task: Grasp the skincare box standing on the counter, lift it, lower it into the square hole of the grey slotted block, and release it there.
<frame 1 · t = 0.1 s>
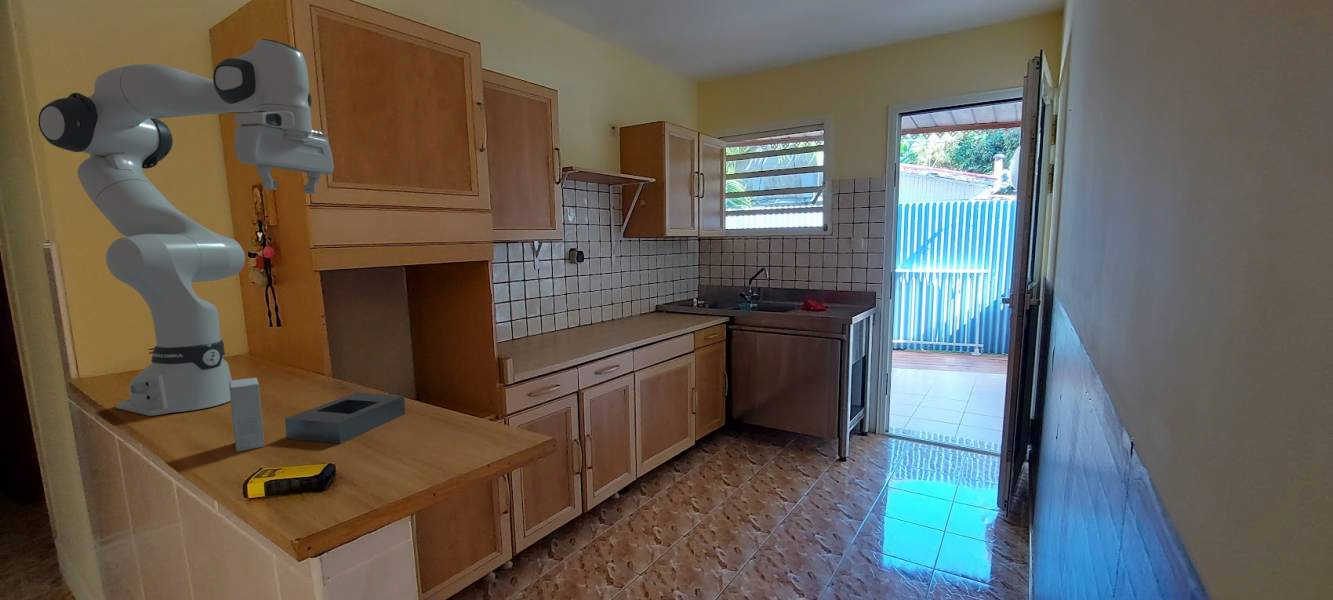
hand: (291, 191, 113), 48 cm above the table, fingers open, 8 cm apart
grey slotted block: (349, 425, 111), on the table
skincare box: (249, 445, 100), on the table
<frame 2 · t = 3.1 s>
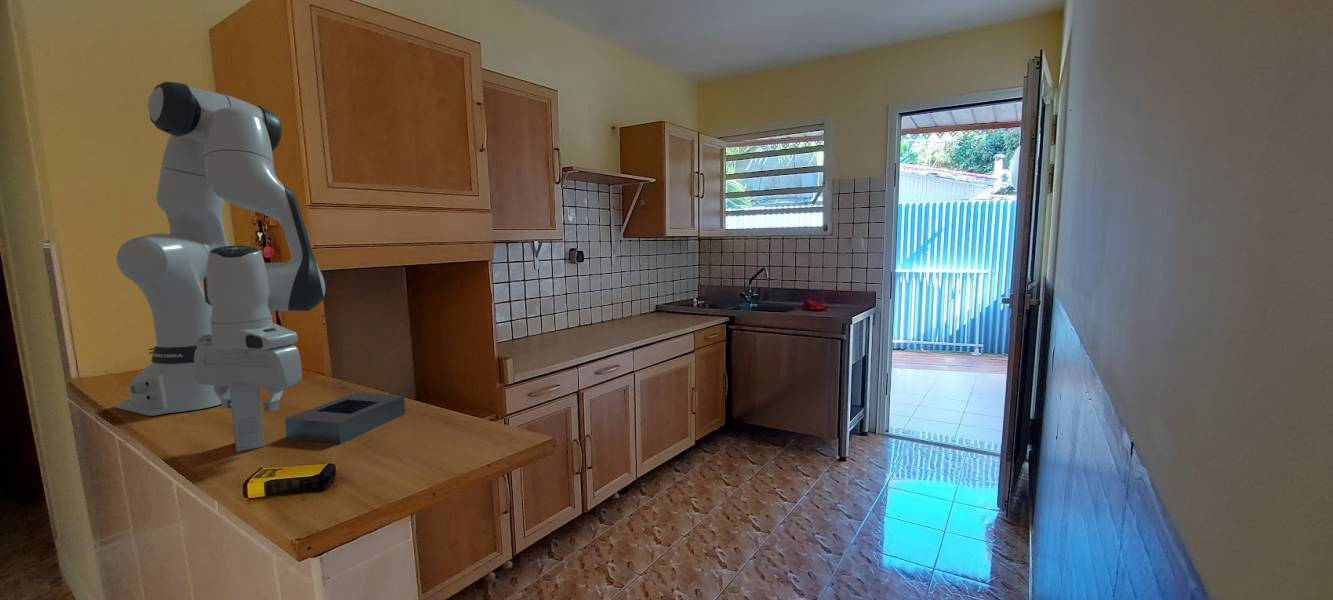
hand: (250, 409, 100), 7 cm above the table, fingers open, 8 cm apart
nothing on the table moved.
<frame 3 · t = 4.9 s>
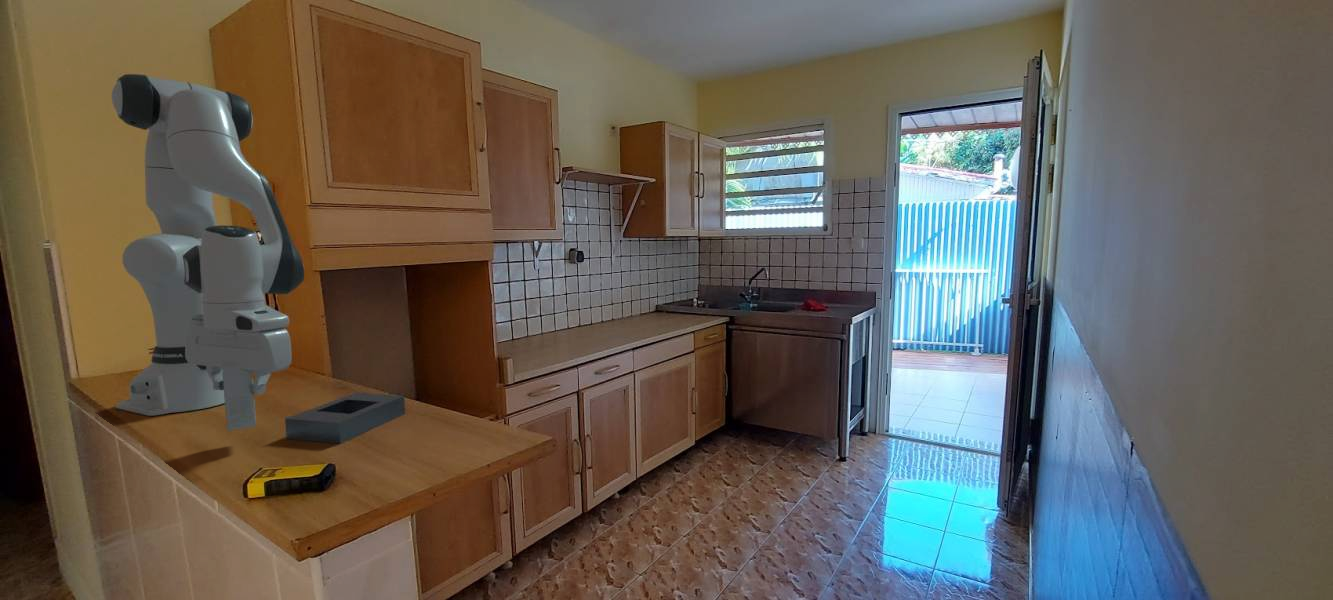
hand: (239, 391, 99), 10 cm above the table, fingers closed on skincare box, 7 cm apart
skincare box: (241, 425, 99), point 4 cm above the table, touching gripper
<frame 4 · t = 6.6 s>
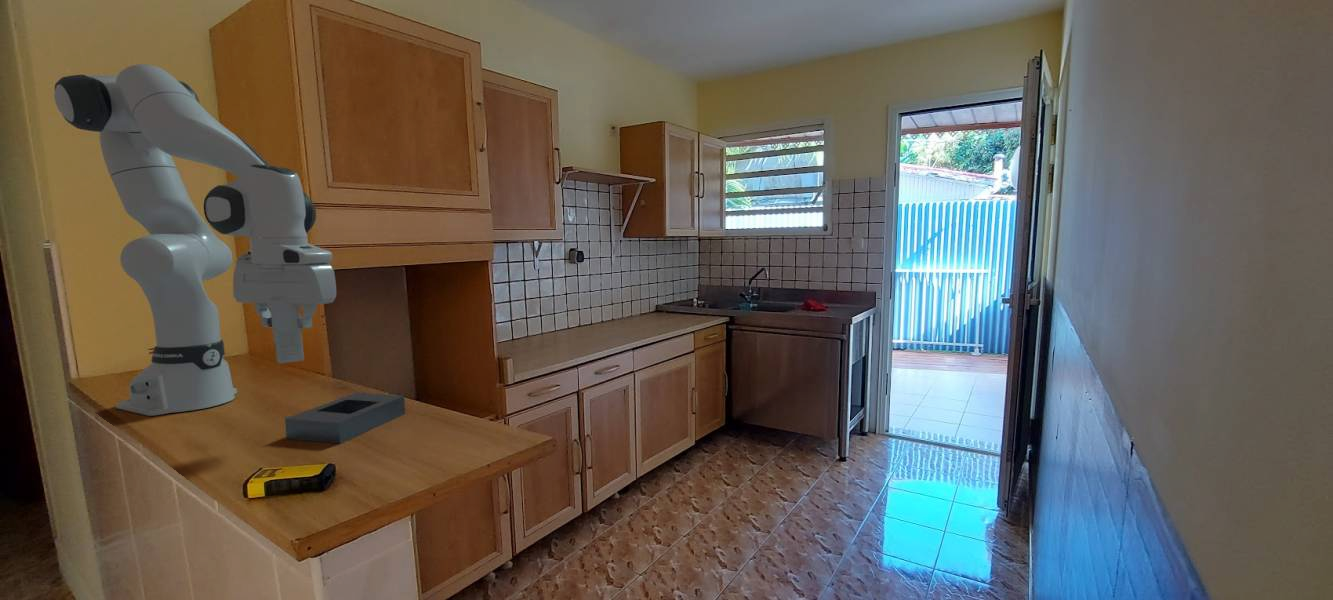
hand: (287, 326, 102), 21 cm above the table, fingers closed on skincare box, 7 cm apart
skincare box: (289, 360, 103), point 15 cm above the table, touching gripper
when the fingers open (8 cm above the table, at t = 9.8 s): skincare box drops 1 cm, resting in grey slotted block.
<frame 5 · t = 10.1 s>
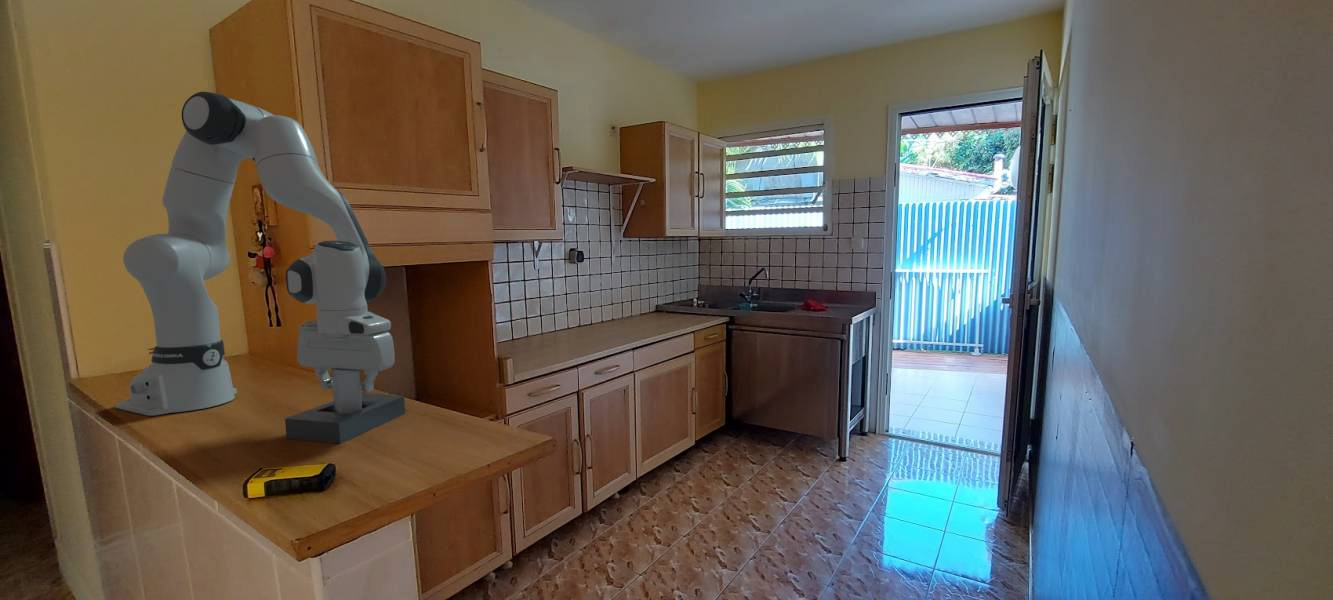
hand: (347, 389, 110), 8 cm above the table, fingers open, 8 cm apart
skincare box: (349, 426, 111), resting in grey slotted block
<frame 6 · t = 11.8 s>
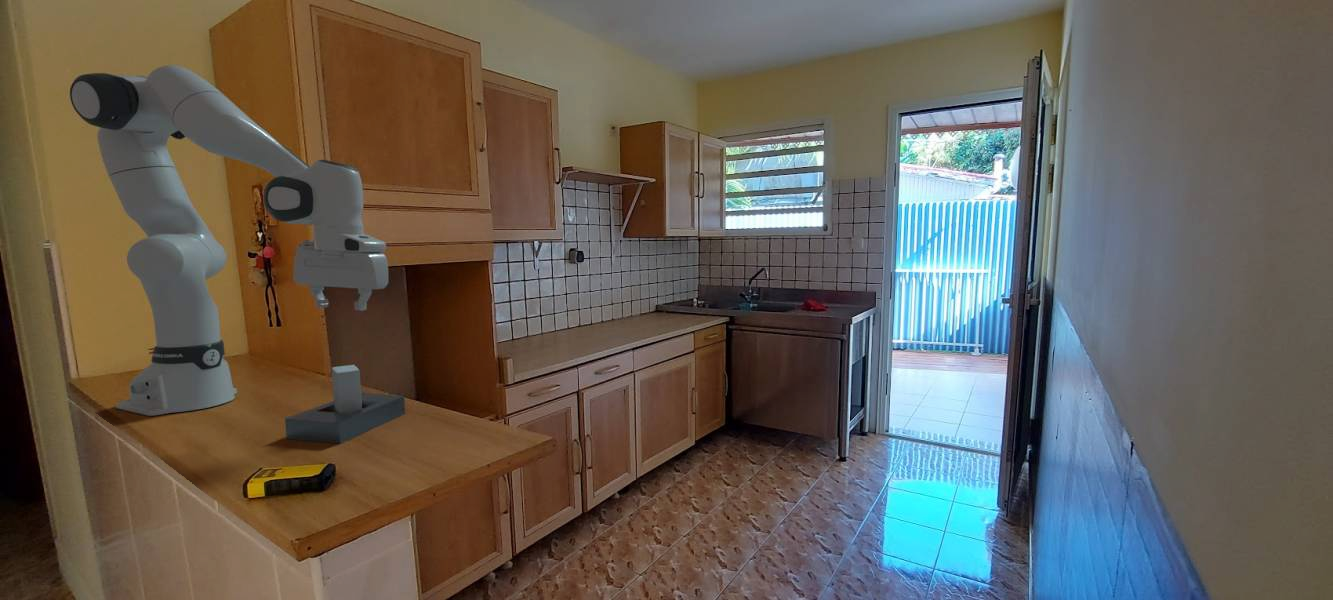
hand: (341, 308, 112), 24 cm above the table, fingers open, 8 cm apart
nothing on the table moved.
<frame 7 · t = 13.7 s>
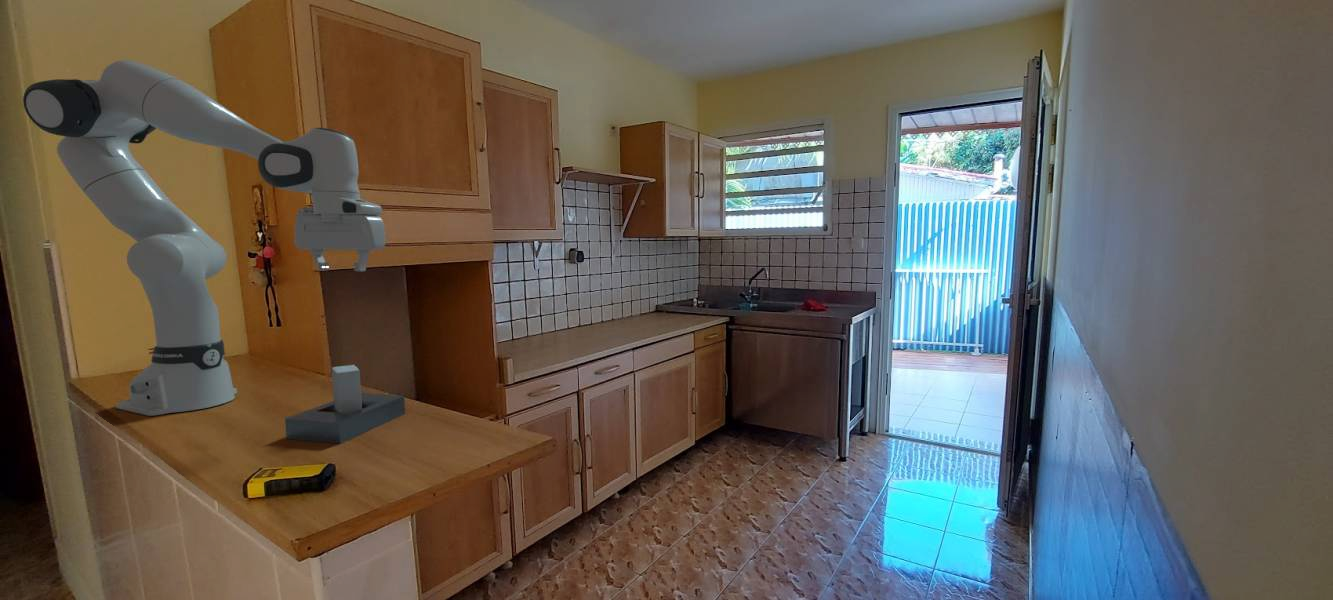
hand: (341, 270, 118), 31 cm above the table, fingers open, 8 cm apart
nothing on the table moved.
at the end: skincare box 0.1 cm off-centre on the grey slotted block, point 0.0 cm above the grey slotted block's base; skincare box tilted 0°; the gripper is holding nothing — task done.
